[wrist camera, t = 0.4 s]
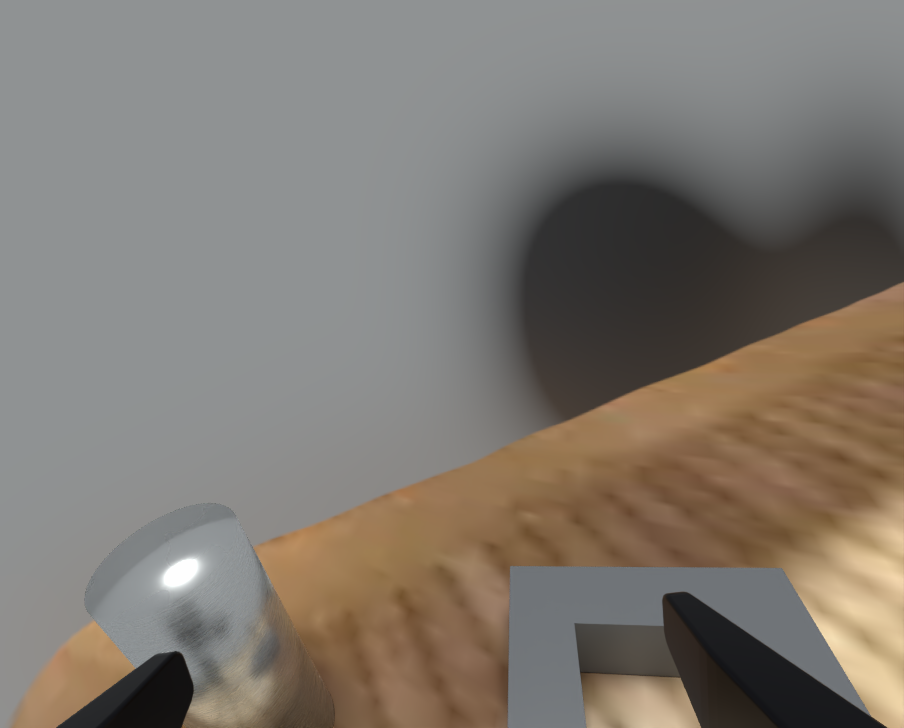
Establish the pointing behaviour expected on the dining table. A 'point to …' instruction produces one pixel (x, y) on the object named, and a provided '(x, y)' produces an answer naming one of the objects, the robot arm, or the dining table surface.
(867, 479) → the dining table surface
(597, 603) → the socket block
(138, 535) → the steel pin
